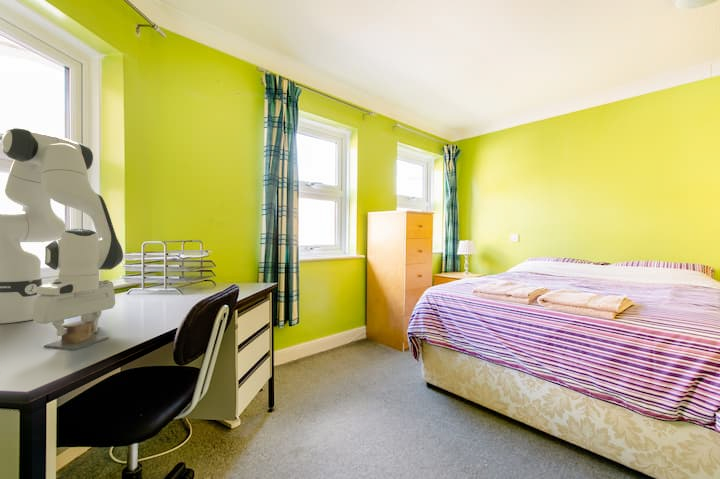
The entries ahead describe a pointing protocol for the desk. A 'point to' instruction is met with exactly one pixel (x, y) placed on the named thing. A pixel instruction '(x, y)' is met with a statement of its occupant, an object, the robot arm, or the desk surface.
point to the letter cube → (78, 332)
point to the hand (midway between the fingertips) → (78, 330)
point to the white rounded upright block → (88, 318)
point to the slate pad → (75, 346)
